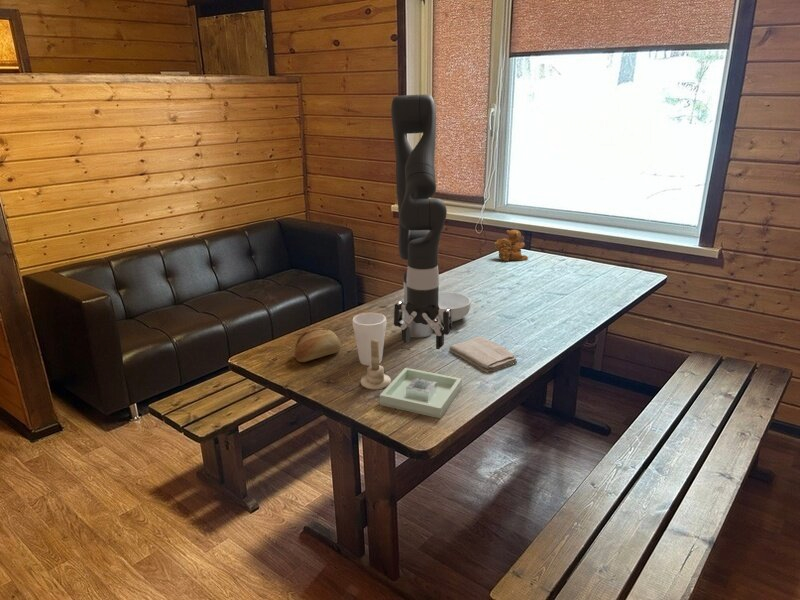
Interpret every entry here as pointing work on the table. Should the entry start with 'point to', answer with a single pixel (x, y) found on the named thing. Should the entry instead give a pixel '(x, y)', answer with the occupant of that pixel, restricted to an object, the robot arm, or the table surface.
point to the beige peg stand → (375, 371)
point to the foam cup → (369, 334)
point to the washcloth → (484, 354)
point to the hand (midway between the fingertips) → (422, 345)
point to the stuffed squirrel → (511, 247)
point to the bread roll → (316, 344)
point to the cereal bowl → (454, 304)
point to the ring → (421, 389)
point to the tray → (434, 407)
